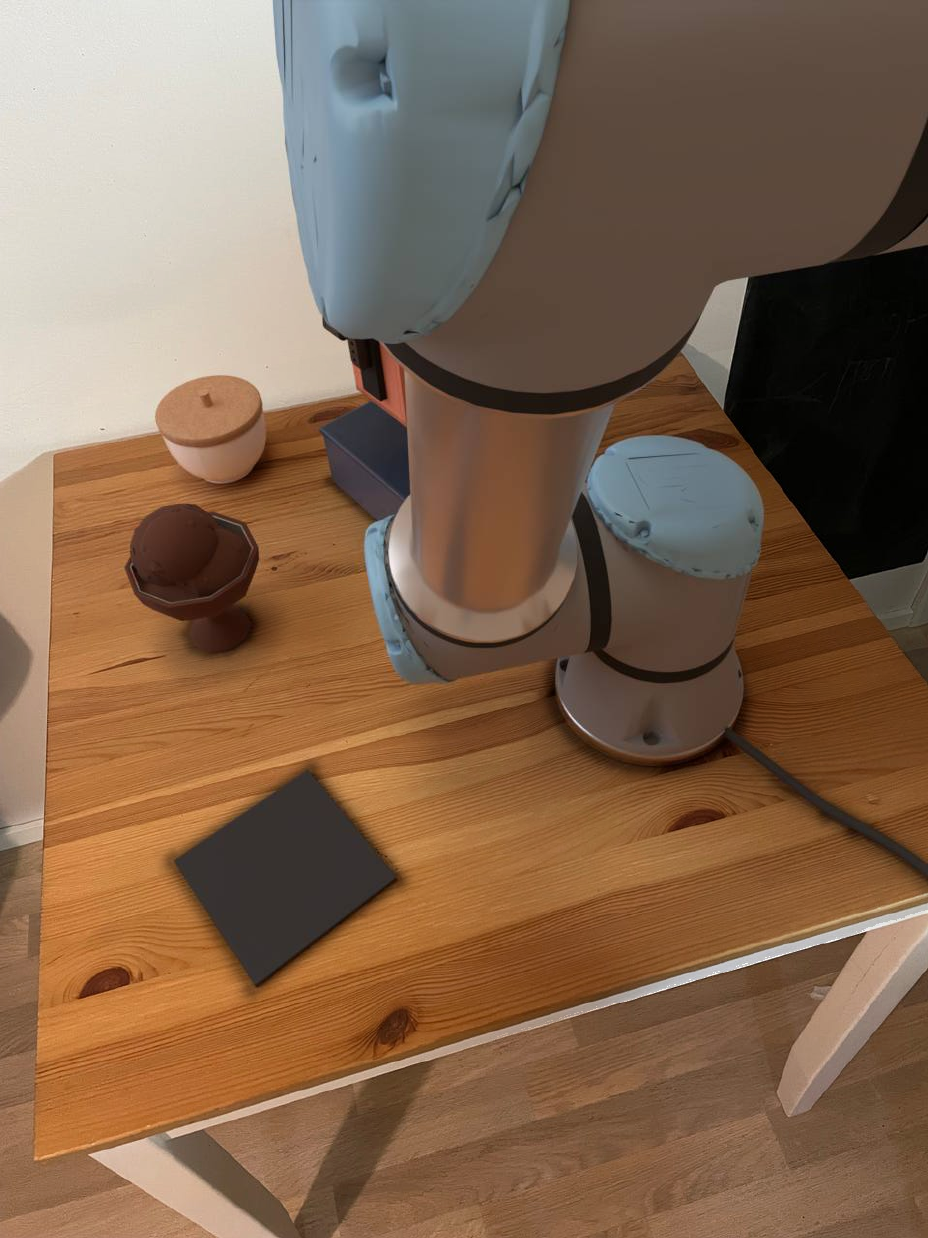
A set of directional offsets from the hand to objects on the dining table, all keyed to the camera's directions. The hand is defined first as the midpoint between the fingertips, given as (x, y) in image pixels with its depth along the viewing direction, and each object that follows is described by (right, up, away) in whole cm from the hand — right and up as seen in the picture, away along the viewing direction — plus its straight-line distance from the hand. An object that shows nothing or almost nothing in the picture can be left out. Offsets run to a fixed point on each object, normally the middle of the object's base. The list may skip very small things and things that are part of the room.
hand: (413, 373), depth 85 cm
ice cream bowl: (-18, -24, -1) cm, 29 cm away
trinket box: (-21, -6, +14) cm, 26 cm away
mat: (-9, -41, -16) cm, 45 cm away
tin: (+1, -9, +11) cm, 14 cm away
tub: (0, -1, +1) cm, 2 cm away
